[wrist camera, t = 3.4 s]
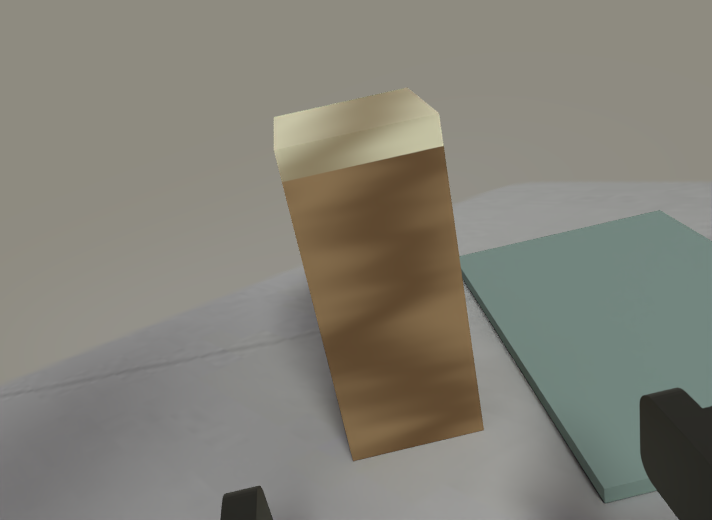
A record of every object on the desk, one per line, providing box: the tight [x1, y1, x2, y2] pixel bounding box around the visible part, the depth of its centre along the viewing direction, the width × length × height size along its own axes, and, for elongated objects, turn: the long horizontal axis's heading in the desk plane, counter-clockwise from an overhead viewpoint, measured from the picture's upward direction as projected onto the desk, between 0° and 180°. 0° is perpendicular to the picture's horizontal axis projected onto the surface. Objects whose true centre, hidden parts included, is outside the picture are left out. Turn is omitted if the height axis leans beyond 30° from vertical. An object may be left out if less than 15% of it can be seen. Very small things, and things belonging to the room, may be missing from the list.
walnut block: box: [274, 88, 484, 461], centre depth 24 cm, size 5×5×12 cm
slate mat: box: [459, 210, 712, 503], centre depth 28 cm, size 12×18×1 cm, turn 7°
